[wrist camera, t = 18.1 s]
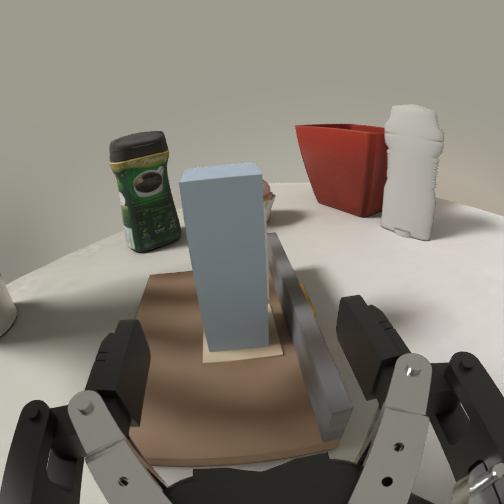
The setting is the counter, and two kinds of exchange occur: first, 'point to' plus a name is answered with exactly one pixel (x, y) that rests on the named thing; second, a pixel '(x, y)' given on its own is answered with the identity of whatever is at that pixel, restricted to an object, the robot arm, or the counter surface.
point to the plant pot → (346, 165)
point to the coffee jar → (145, 190)
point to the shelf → (237, 379)
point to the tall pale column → (411, 171)
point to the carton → (228, 253)
